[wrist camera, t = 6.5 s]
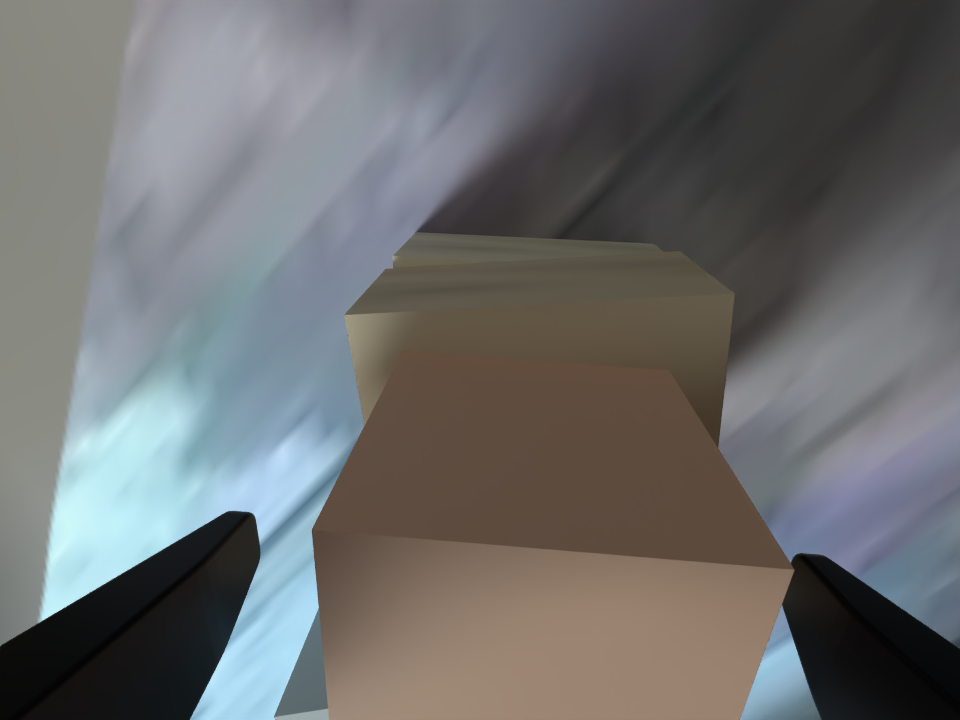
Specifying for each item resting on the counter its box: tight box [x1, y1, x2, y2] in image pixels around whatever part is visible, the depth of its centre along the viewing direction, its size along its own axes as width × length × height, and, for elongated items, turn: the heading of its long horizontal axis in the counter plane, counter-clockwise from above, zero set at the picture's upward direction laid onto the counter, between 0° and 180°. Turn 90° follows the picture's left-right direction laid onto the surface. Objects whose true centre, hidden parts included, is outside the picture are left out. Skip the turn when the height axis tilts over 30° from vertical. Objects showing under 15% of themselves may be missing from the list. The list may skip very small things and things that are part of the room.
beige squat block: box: [344, 251, 735, 447], centre depth 13 cm, size 7×7×4 cm
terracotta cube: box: [312, 351, 794, 720], centre depth 9 cm, size 5×5×5 cm
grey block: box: [274, 609, 329, 720], centre depth 21 cm, size 5×5×5 cm
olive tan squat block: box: [393, 232, 664, 268], centre depth 16 cm, size 7×7×4 cm
